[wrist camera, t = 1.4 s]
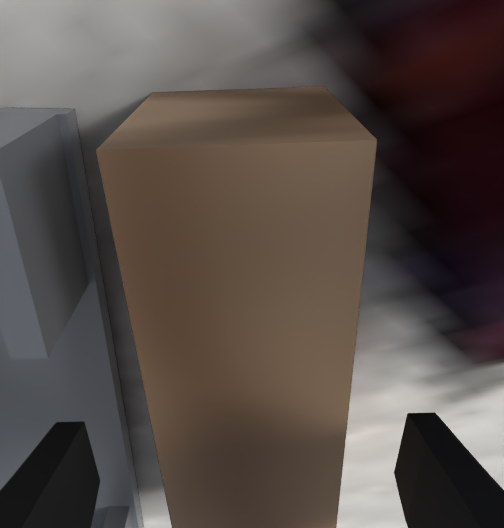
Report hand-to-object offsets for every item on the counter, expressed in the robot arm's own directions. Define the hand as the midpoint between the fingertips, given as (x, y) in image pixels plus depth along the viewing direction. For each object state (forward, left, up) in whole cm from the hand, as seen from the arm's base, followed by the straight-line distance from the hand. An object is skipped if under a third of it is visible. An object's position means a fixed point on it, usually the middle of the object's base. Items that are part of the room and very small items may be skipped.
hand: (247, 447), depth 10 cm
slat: (0, 0, -5) cm, 5 cm away
